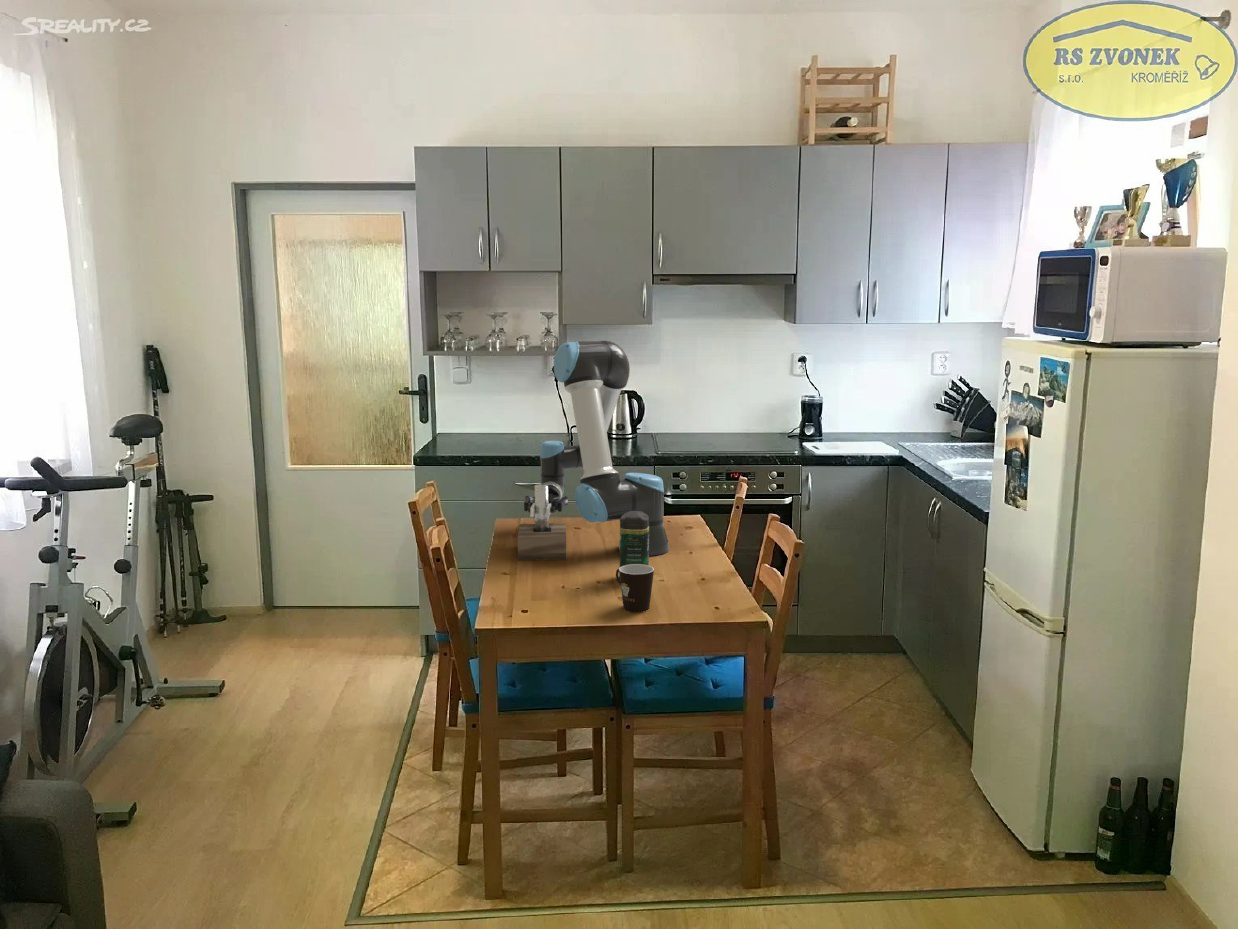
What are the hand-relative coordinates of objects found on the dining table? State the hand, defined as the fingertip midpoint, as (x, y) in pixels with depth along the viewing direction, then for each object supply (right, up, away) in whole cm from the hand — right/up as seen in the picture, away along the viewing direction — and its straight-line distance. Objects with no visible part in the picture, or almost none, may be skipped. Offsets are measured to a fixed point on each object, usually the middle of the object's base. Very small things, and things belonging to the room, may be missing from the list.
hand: (539, 512), depth 282 cm
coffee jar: (+27, -17, -19) cm, 38 cm away
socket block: (0, -12, +8) cm, 15 cm away
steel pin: (0, -9, +7) cm, 11 cm away
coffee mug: (+27, -21, -42) cm, 54 cm away
